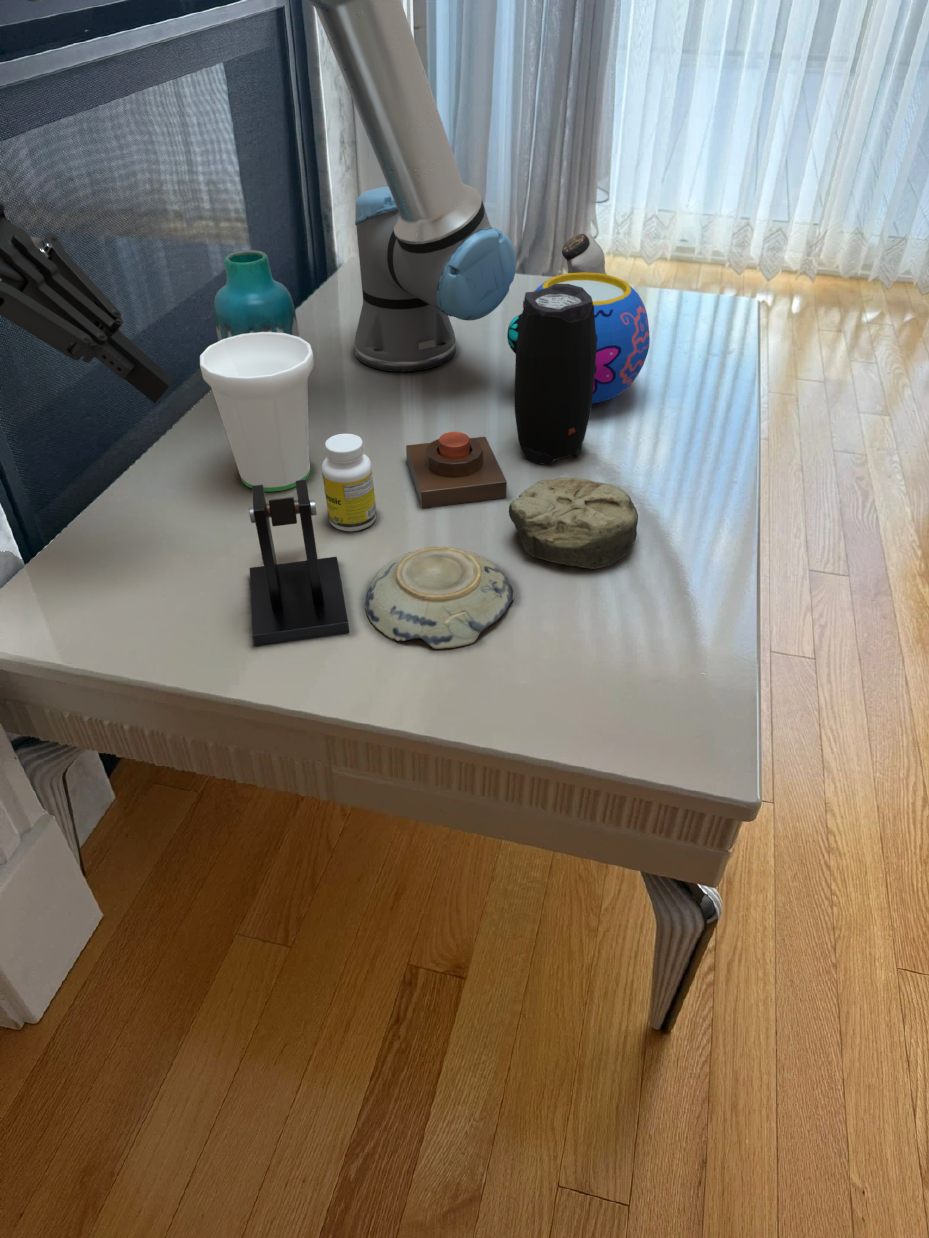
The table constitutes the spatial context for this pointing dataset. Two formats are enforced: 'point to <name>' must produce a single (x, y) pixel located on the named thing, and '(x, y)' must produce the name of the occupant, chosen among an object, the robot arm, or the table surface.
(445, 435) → the button
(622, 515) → the stone
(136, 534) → the table surface
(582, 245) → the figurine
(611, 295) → the ceramic pot
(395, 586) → the decorative bowl
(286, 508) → the lever
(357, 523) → the supplement bottle
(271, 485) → the cup
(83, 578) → the table surface
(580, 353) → the portable speaker
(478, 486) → the button block
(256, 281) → the vase
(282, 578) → the bracket
